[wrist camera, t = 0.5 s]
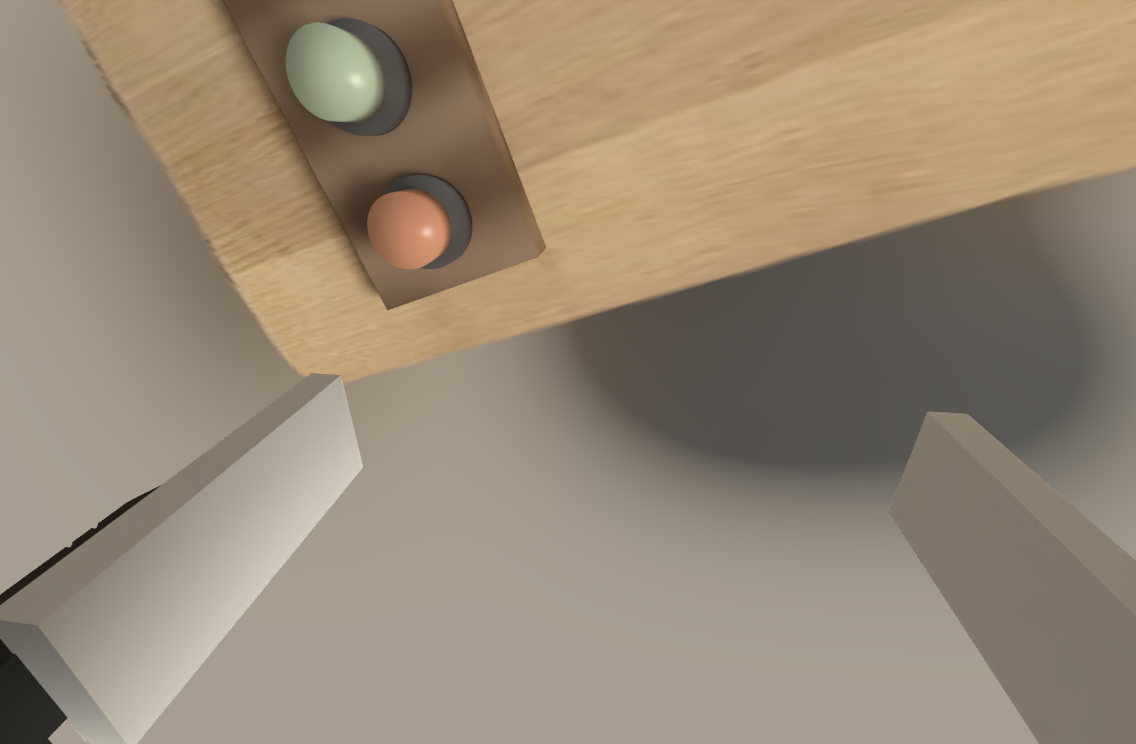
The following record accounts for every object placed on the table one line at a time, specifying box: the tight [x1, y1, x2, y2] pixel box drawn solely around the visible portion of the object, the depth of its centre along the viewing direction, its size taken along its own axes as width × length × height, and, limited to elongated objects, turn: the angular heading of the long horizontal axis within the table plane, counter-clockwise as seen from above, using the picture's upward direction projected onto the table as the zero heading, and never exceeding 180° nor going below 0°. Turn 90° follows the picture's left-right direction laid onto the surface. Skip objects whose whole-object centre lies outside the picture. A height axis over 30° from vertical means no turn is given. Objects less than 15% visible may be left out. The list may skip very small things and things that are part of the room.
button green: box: [286, 22, 385, 122], centre depth 26 cm, size 4×4×2 cm
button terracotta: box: [367, 189, 451, 269], centre depth 29 cm, size 4×4×2 cm
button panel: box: [223, 0, 546, 310], centre depth 30 cm, size 26×12×4 cm, turn 20°
